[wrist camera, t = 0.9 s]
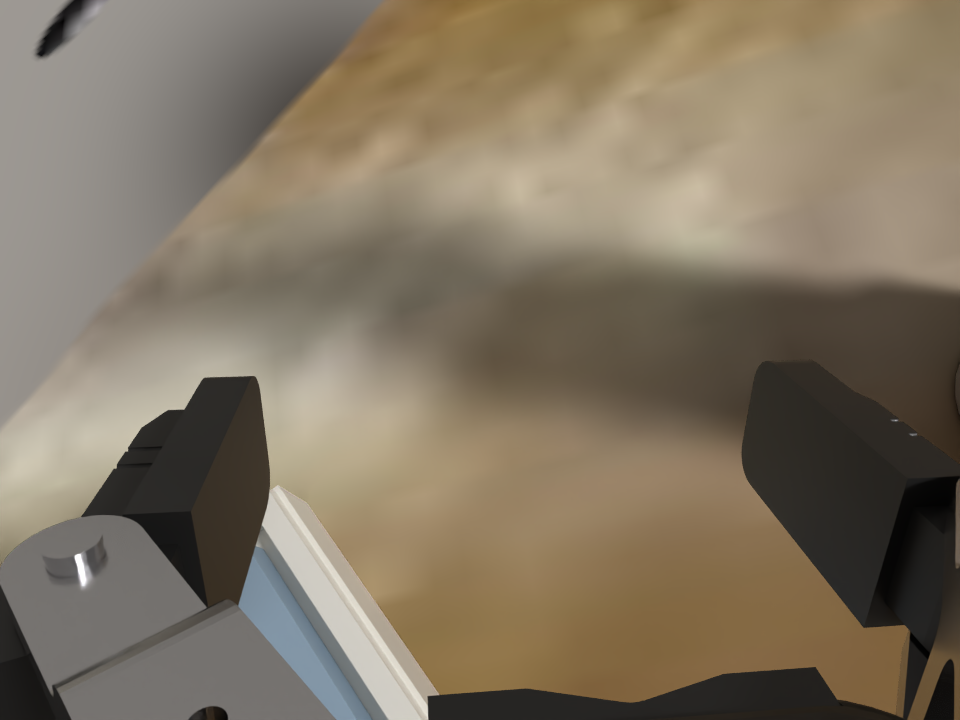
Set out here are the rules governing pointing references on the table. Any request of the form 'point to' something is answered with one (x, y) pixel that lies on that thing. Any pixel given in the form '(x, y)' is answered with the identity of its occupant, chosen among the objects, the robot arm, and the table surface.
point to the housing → (343, 611)
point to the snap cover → (296, 638)
